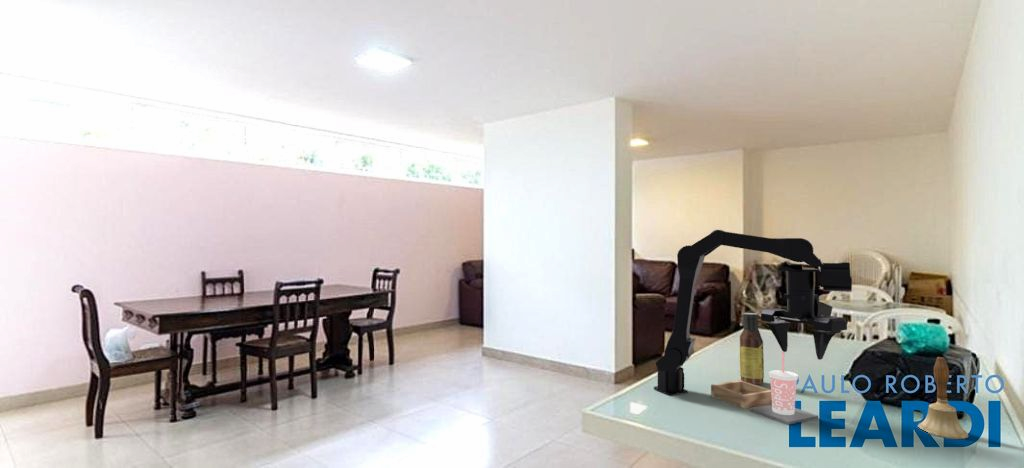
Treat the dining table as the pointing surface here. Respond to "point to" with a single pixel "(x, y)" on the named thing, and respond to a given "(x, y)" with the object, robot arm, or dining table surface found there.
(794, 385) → the beverage cup
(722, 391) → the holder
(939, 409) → the hand bell
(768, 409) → the coaster
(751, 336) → the sauce bottle
